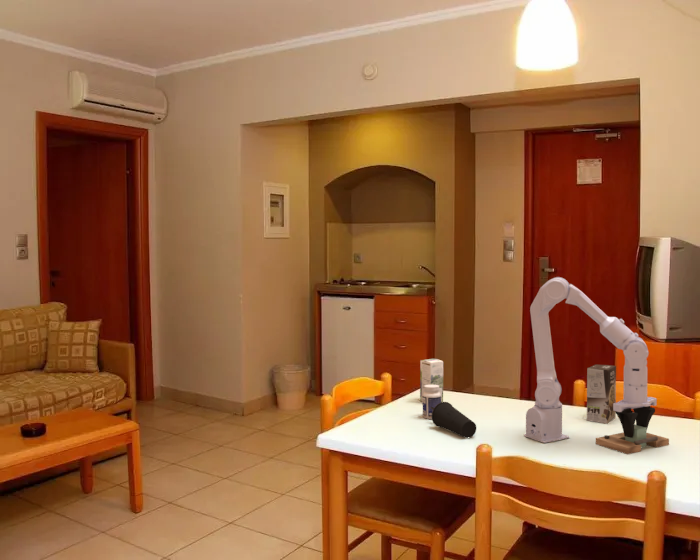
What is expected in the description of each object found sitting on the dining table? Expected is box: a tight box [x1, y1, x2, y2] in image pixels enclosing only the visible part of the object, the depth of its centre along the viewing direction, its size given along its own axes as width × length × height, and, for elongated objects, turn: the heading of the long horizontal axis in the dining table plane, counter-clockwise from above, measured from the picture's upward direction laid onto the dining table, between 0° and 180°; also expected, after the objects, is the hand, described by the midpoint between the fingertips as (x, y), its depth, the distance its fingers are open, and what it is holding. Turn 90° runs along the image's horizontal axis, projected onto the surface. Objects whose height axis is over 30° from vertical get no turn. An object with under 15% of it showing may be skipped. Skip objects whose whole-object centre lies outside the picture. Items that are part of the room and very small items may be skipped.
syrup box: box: [419, 358, 444, 403], centre depth 222 cm, size 6×6×14 cm
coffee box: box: [586, 364, 617, 424], centre depth 197 cm, size 9×6×16 cm
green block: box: [625, 424, 647, 448], centre depth 170 cm, size 4×4×5 cm
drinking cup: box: [431, 401, 477, 439], centre depth 187 cm, size 8×8×20 cm
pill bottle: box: [422, 385, 441, 420], centre depth 201 cm, size 6×6×10 cm
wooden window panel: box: [595, 432, 670, 455], centre depth 171 cm, size 16×10×3 cm, turn 118°
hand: (635, 435), depth 170 cm, fingers open, 4 cm apart
